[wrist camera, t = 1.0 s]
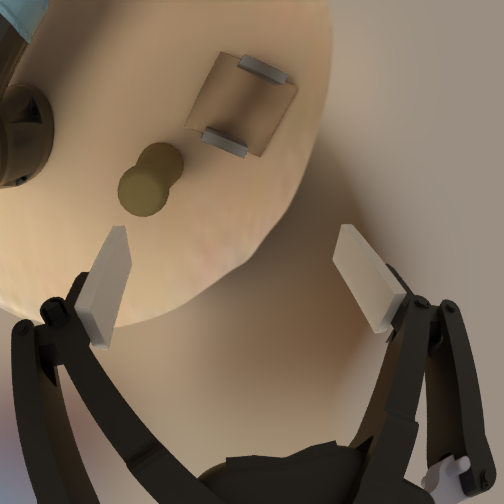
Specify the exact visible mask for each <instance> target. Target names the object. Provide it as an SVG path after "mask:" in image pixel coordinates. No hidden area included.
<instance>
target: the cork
mask: <svg viewBox="0 0 504 504" xmlns="http://www.w3.org/2000/svg"><path fill="white" fill-rule="evenodd" d="M182 171H183V159H182V156H181V154H180V153H179V151H178V150H177V149H176V148H175V147H173V146H172V145H170V144H167V143H155V144H152V145H150V146H148V147H147V148H145V149H144V151H143V152H142V153H141V155H140V157H139V159H138V161H137V163H136V165H135V166H133V167H132V168H130V169H129V170H128V171H126V172H125V173H124V175H123V176H122V178H121V179H120V182H119V186H118V198H119V200H120V203H121V205H122V206H123V207H124V209H125V210H127V211H128V212H129V213H131V214H133V215H136V216H140V217H147V216H150V215H153V214H155V213H156V212H158V211H159V210H161V209H162V207H163V206H164V205H165V204H166V201H167V198H168V196H169V188H170V187H171V186H172V185H173V184H174V183H175V182H176V181H177V180H178V178H179V177H180V176H181V173H182Z"/></svg>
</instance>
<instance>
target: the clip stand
mask: <svg viewBox="0 0 504 504" xmlns="http://www.w3.org/2000/svg"><path fill="white" fill-rule="evenodd" d="M287 77H288V75H287V74H285V73H283V72H281V71H280V70H278V69H276V68H274V67H272V66H269V65H267V64H265V63H263V62H261V61H259V60H257V59H255V58H252V57H250V56H248V55H246V54H244V56H243V57H242V58H241V60H240V59H237V58H235V57H233V56H230V55H228V54H225V53H223V52H220V54H219V56H218V58H217V59H216V61H215V63H214V65H213V67H212V69H211V71H210V73H209V74H208V76H207V78H206V80H205V82H204V84H203V86H202V88H201V90H200V92H199V95H198V97H197V99H196V101H195V103H194V105H193V107H192V109H191V112H190V114H189V116H188V118H187V120H186V123H185V125H184V126H185V127H188V128H190V129H193V130H196V131H198V132H201V133H203V135H202V138H201V141H203V142H205V143H208V144H210V145H213V146H215V147H218V148H220V149H223V150H225V151H227V152H230V153H232V154H235V155H237V156H239V157H242V158H244V157H245V155H246V153H247V152H249V153H251V154H253V155H256V156H258V157H261V155H262V153H263V151H264V149H265V147H266V145H267V143H268V141H269V140H270V138H271V136H272V134H273V132H274V130H275V128H276V127H277V125H278V123H279V121H280V119H281V117H282V115H283V114H284V112H285V110H286V108H287V106H288V105H289V103H290V101H291V99H292V97H293V96H294V94H295V92H296V90H297V87H295V86H294V85H292V84H290V83H288V82H286V81H285V80H286V78H287Z"/></svg>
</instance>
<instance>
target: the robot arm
mask: <svg viewBox="0 0 504 504" xmlns="http://www.w3.org/2000/svg"><path fill="white" fill-rule="evenodd" d="M48 7H49V0H0V189H3V188H10V187H16V186H20V185H22V184H24V183H26V182H27V181H29V180H30V179H32V178H33V177H34V176H36V175H37V174H38V173H39V172H40V171H41V169H42V168H43V167H44V165H45V163H46V161H47V159H48V157H49V154H50V151H51V147H52V142H53V134H54V125H53V117H52V112H51V109H50V106H49V103H48V101H47V100H46V98H45V96H44V95H43V94H42V93H41V92H40V91H39V90H38V89H37V88H35V87H33V86H31V85H26V84H21V85H14V86H10V87H7V86H8V84H9V81H10V79H11V77H12V75H13V73H14V71H15V69H16V67H17V65H18V63H19V61H20V59H21V57H22V55H23V53H24V51H25V50H26V48H27V46H28V44H29V45H30V43H31V41H32V36H33V34H34V33H35V31H36V29H37V27H38V25H39V24H40V22H41V20H42V19H43V17H44V16H45V14H46V12H47V10H48ZM333 262H334V263H335V265H336V267H337V268H338V270H339V272H340V273H341V275H342V277H343V278H344V280H345V282H346V283H347V285H348V287H349V288H350V290H351V292H352V294H353V295H354V297H355V299H356V301H357V302H358V304H359V306H360V307H361V309H362V311H363V313H364V315H365V316H366V318H367V320H368V322H369V324H370V326H371V327H372V329H373V331H374V333H381V332H386V331H387V329H388V327H389V326H390V324H391V325H392V326H393V328H394V329H393V331H392V332H391V334H390V336H389V338H388V339H387V341H386V343H387V342H388V341H389V343H388V347H387V350H386V354H385V357H384V361H383V364H382V367H381V370H380V373H379V376H378V379H377V382H376V386H375V388H374V391H373V394H372V397H371V399H370V402H369V405H368V407H367V410H366V413H365V415H364V417H363V420H362V422H361V425H360V427H359V430H358V432H357V434H356V436H355V438H354V439H353V440H352V442H351V443H350V445H349V446H348V447H347V446H339V445H337V444H336V441H331V442H327V443H323V444H318V445H314V446H310V447H308V448H306V449H304V450H301V451H299V452H297V453H295V454H293V455H290V456H288V457H284V458H279V457H267V456H257V455H252V456H241V457H228V458H226V462H224V463H221V464H218V465H216V466H214V467H212V468H210V469H209V470H207V471H205V472H204V473H203V474H202V475H200V476H199V477H198V478H196V477H195V476H194V475H192V473H190V472H189V471H188V470H187V469H186V468H185V467H184V466H183V465H182V464H181V463H180V462H179V461H178V460H177V459H176V458H175V457H174V456H173V455H172V454H171V453H170V452H169V451H168V450H167V449H166V448H165V447H164V446H163V445H162V443H160V442H159V441H158V440H157V439H156V437H155V436H154V435H153V434H152V433H151V432H150V431H149V429H148V428H147V427H146V426H145V425H144V423H143V422H142V421H141V420H140V419H139V417H138V416H137V415H136V414H135V413H134V411H133V410H132V409H131V407H130V406H129V405H128V403H127V402H126V401H125V399H124V398H123V397H122V396H121V394H120V393H119V391H118V390H117V389H116V387H115V386H114V384H113V383H112V381H111V380H110V379H109V377H108V376H107V374H106V373H105V371H104V370H103V368H102V367H101V365H100V363H99V362H98V360H97V359H96V358H95V356H94V354H93V352H92V351H91V349H90V347H89V344H90V341H91V343H92V345H93V347H94V349H106V350H108V349H109V346H110V341H111V337H112V333H113V329H114V325H115V321H116V317H117V314H118V310H119V306H120V303H121V299H122V296H123V292H124V289H125V286H126V282H127V279H128V276H129V273H130V270H131V267H132V261H131V256H130V251H129V246H128V240H127V234H126V229H125V226H113V227H112V229H111V231H110V233H109V235H108V237H107V238H106V240H105V242H104V244H103V246H102V248H101V250H100V252H99V254H98V256H97V258H96V260H95V262H94V264H93V266H92V268H91V270H90V272H81V273H80V274H79V275H78V276H77V277H76V278H75V280H74V282H73V284H72V287H71V289H70V291H69V293H68V295H67V297H66V299H65V300H64V299H63V298H61V297H53V298H50V299H48V300H46V301H45V302H44V303H43V304H42V306H41V308H40V315H41V317H42V318H43V320H44V322H45V324H42V325H38V326H34V324H33V323H32V321H31V320H28V319H24V320H21V321H19V322H18V323H16V324H15V326H14V327H13V329H12V335H11V337H12V338H11V365H12V384H13V396H14V405H15V412H16V420H17V426H18V432H19V437H20V442H21V446H22V451H23V455H24V459H25V463H26V467H27V471H28V474H29V478H30V481H31V484H32V487H33V490H34V493H35V496H36V498H37V504H100V502H99V500H98V498H97V495H96V493H95V491H94V488H93V486H92V484H91V481H90V479H89V477H88V474H87V472H86V469H85V467H84V464H83V462H82V459H81V456H80V453H79V451H78V448H77V445H76V442H75V439H74V436H73V432H72V429H71V426H70V422H69V419H68V415H67V412H66V407H65V403H64V399H63V395H62V390H61V385H60V381H59V375H58V369H57V365H63V364H64V366H65V368H66V370H67V372H68V374H69V376H70V377H71V380H72V381H73V383H74V385H75V387H76V389H77V391H78V393H79V394H80V396H81V398H82V400H83V401H84V403H85V405H86V406H87V408H88V410H89V411H90V413H91V415H92V416H93V417H94V419H95V421H96V422H97V424H98V425H99V427H100V428H101V430H102V431H103V433H104V434H105V436H106V437H107V439H108V440H109V441H110V443H111V444H112V446H113V447H114V448H115V449H116V451H117V452H118V454H119V455H120V456H121V458H122V459H123V460H124V462H125V463H126V466H127V468H128V469H129V471H130V472H131V473H132V474H133V476H134V477H135V478H136V479H137V480H138V482H139V483H140V484H141V485H142V486H143V487H144V488H145V489H146V490H147V492H148V493H149V494H150V495H151V496H152V497H153V498H154V499H155V500H156V501H157V502H158V503H159V504H457V503H459V502H460V501H463V500H466V499H468V498H471V497H473V496H475V495H478V494H480V493H483V492H485V491H487V490H489V489H490V488H491V487H492V486H493V485H494V483H495V480H496V468H495V464H494V461H493V457H492V454H491V451H490V448H489V445H488V442H487V439H486V436H485V429H484V418H483V409H482V402H481V396H480V389H479V384H478V378H477V373H476V369H475V364H474V360H473V355H472V351H471V347H470V343H469V339H468V336H467V332H466V329H465V325H464V322H463V319H462V316H461V313H460V310H459V308H458V306H457V305H456V304H455V303H454V302H453V301H450V300H446V299H445V300H443V301H442V302H441V304H440V306H434V305H431V304H430V303H429V301H428V300H427V299H426V298H424V297H422V296H419V295H414V294H413V293H412V291H411V290H410V288H409V287H408V286H407V285H406V283H405V282H404V281H403V280H402V278H401V277H400V276H399V274H398V273H397V272H396V270H395V269H394V268H393V267H391V266H390V265H389V264H384V262H383V261H382V260H381V259H380V257H379V256H378V255H377V254H376V252H375V251H374V250H373V249H372V247H371V246H370V245H369V244H368V243H367V241H366V240H365V239H364V238H363V237H362V236H361V234H360V233H359V232H358V231H357V230H356V228H355V227H354V226H353V225H352V224H342V225H341V229H340V233H339V237H338V241H337V245H336V249H335V252H334V256H333ZM424 370H425V382H426V397H427V467H428V471H427V473H426V476H425V477H423V479H422V481H421V485H422V487H423V488H424V489H422V488H420V487H418V486H417V485H415V484H413V483H411V482H409V481H408V480H406V479H404V478H403V477H404V475H405V472H406V469H407V466H408V463H409V460H410V457H411V454H412V450H413V447H414V444H415V440H416V437H417V433H418V428H419V424H418V422H415V414H416V410H417V406H418V402H419V397H420V392H421V387H422V382H423V376H424Z"/></svg>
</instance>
